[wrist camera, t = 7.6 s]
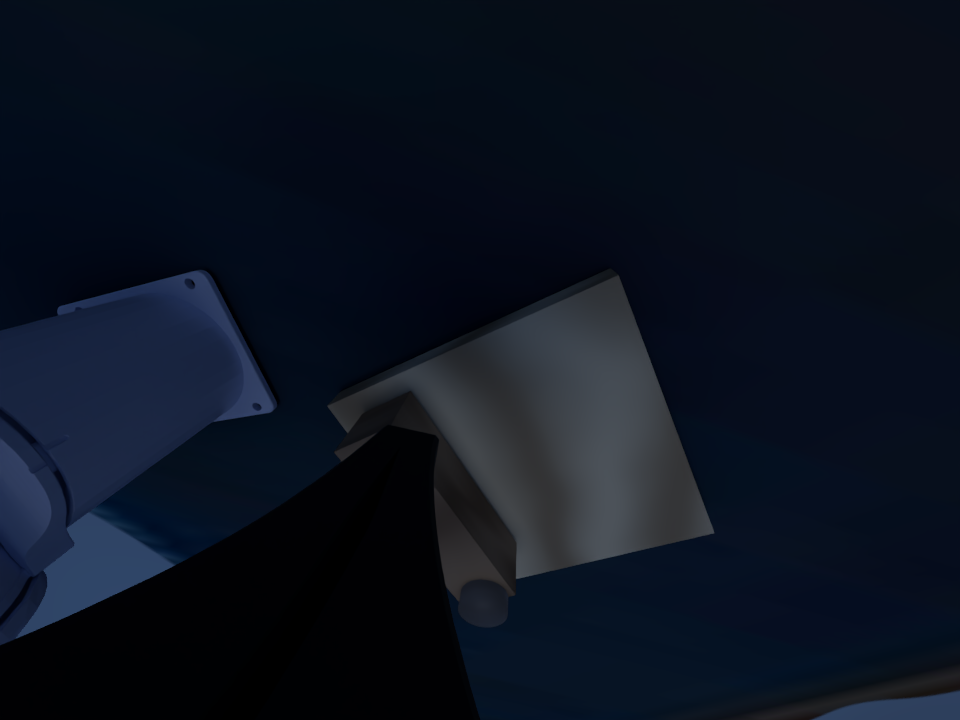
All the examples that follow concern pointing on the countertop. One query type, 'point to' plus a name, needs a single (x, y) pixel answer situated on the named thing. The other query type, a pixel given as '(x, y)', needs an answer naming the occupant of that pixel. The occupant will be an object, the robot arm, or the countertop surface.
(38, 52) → the countertop surface
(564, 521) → the stool seat
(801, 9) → the countertop surface
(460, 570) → the stool leg
